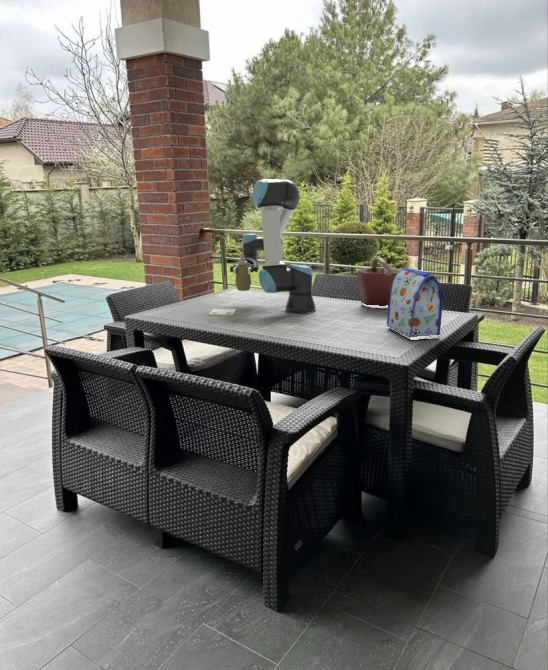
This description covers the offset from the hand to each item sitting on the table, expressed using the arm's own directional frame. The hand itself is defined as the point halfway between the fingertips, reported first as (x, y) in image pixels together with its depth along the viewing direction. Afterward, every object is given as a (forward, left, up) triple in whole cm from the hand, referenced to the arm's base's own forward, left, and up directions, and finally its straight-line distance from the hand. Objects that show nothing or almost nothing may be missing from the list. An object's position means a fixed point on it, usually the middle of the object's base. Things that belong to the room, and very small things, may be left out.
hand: (241, 271), depth 260 cm
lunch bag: (-77, +37, -21) cm, 88 cm away
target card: (+10, -2, -21) cm, 24 cm away
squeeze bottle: (0, -5, -10) cm, 11 cm away
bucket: (-69, -20, -21) cm, 75 cm away
